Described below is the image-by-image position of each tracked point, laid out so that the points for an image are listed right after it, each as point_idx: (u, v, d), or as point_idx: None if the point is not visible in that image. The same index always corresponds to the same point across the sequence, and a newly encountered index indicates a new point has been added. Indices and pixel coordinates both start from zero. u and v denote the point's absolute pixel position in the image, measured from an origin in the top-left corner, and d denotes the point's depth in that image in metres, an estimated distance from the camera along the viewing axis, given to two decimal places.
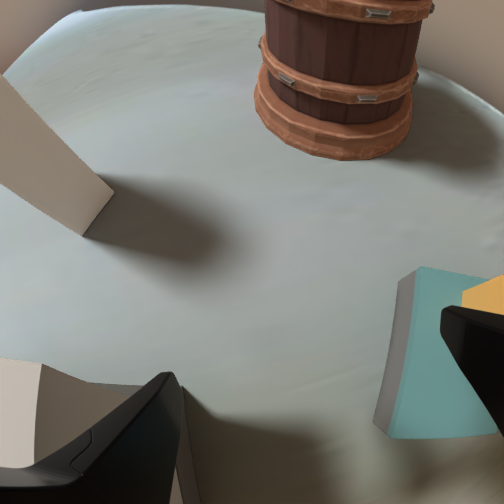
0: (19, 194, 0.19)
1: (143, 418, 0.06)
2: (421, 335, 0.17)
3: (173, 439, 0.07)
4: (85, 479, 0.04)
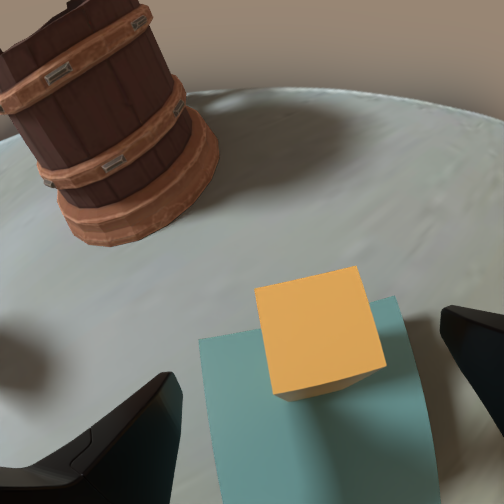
0: None
1: (143, 418, 0.06)
2: (222, 432, 0.12)
3: (173, 439, 0.07)
4: (85, 479, 0.04)
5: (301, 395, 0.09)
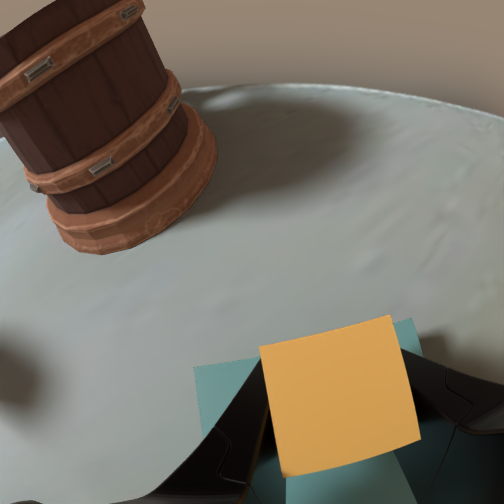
0: None
1: None
2: None
3: None
4: (246, 488, 0.04)
5: None
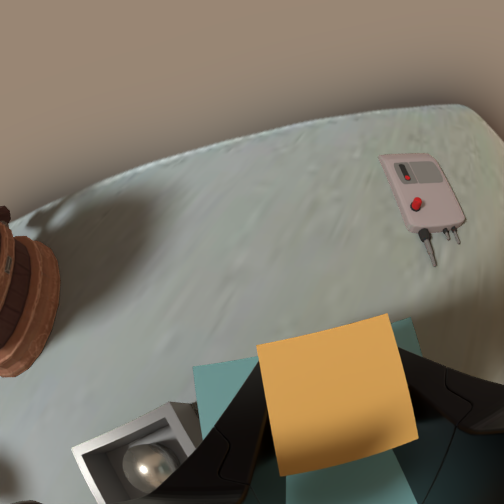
0: None
1: None
2: None
3: None
4: (245, 488, 0.04)
5: None
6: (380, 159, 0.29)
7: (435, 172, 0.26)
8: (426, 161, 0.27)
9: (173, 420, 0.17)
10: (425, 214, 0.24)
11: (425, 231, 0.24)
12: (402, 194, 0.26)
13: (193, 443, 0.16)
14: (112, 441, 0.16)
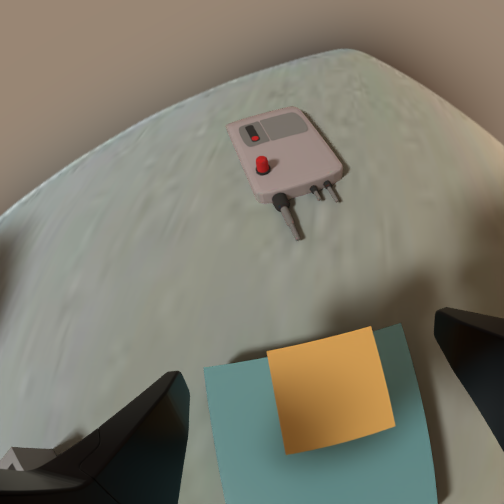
0: None
1: (152, 418, 0.06)
2: (228, 458, 0.12)
3: (181, 439, 0.07)
4: (94, 481, 0.04)
5: None
6: (226, 128, 0.25)
7: (297, 122, 0.23)
8: (285, 113, 0.24)
9: (17, 466, 0.10)
10: (278, 175, 0.20)
11: (279, 196, 0.20)
12: (247, 159, 0.22)
13: None
14: None
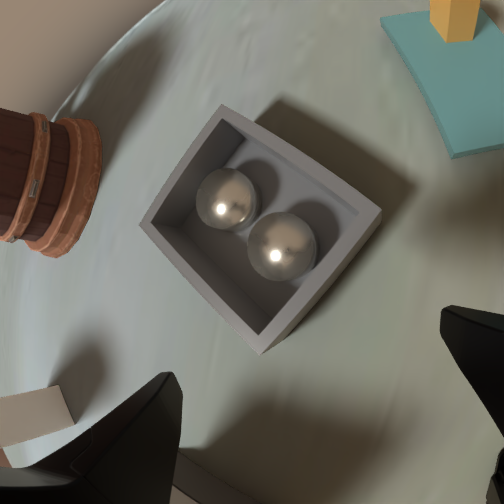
0: (15, 442, 0.21)
1: (143, 418, 0.06)
2: (415, 58, 0.15)
3: (173, 439, 0.07)
4: (85, 479, 0.04)
5: (457, 3, 0.10)
6: None
7: None
8: None
9: (230, 115, 0.18)
10: None
11: None
12: None
13: None
14: (178, 179, 0.19)
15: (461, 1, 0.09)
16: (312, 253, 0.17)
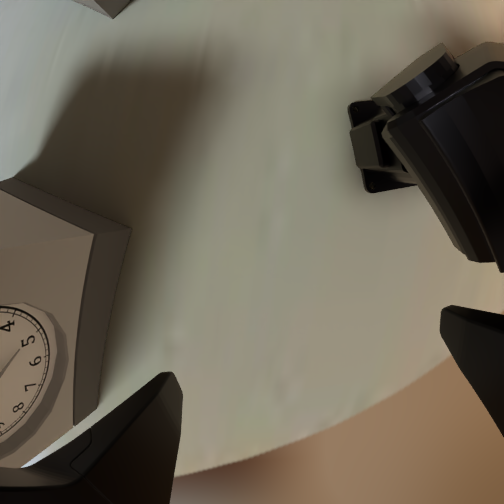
0: None
1: (143, 418, 0.06)
2: None
3: (173, 439, 0.07)
4: (85, 479, 0.04)
5: None
6: None
7: None
8: None
9: None
10: None
11: None
12: None
13: None
14: None
15: None
16: None
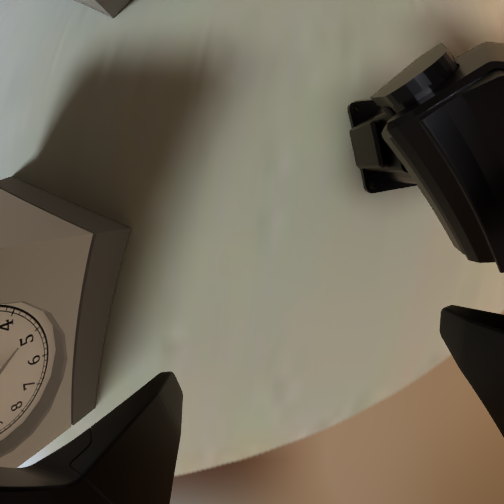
0: None
1: (143, 418, 0.06)
2: None
3: (173, 439, 0.07)
4: (85, 479, 0.04)
5: None
6: None
7: None
8: None
9: None
10: None
11: None
12: None
13: None
14: None
15: None
16: None
